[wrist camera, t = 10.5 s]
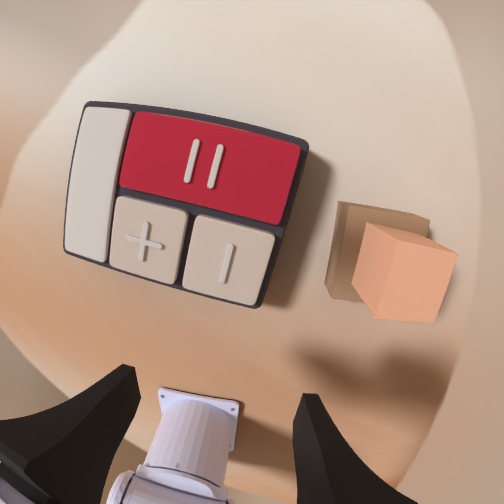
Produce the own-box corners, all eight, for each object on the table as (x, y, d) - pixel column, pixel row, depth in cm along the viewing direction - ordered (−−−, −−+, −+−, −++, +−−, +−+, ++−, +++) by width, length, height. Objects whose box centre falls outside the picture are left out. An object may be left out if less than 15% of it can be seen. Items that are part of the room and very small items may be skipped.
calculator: (260, 317, 17) (56, 256, 16) (259, 288, 21) (85, 240, 20) (314, 140, 14) (78, 98, 13) (301, 146, 18) (108, 108, 17)
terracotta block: (402, 290, 17) (433, 322, 12) (351, 283, 17) (374, 318, 12) (418, 233, 16) (457, 253, 11) (366, 222, 16) (398, 240, 11)
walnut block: (393, 287, 20) (409, 303, 17) (323, 281, 20) (331, 299, 17) (410, 213, 18) (430, 220, 15) (337, 200, 18) (349, 205, 15)
